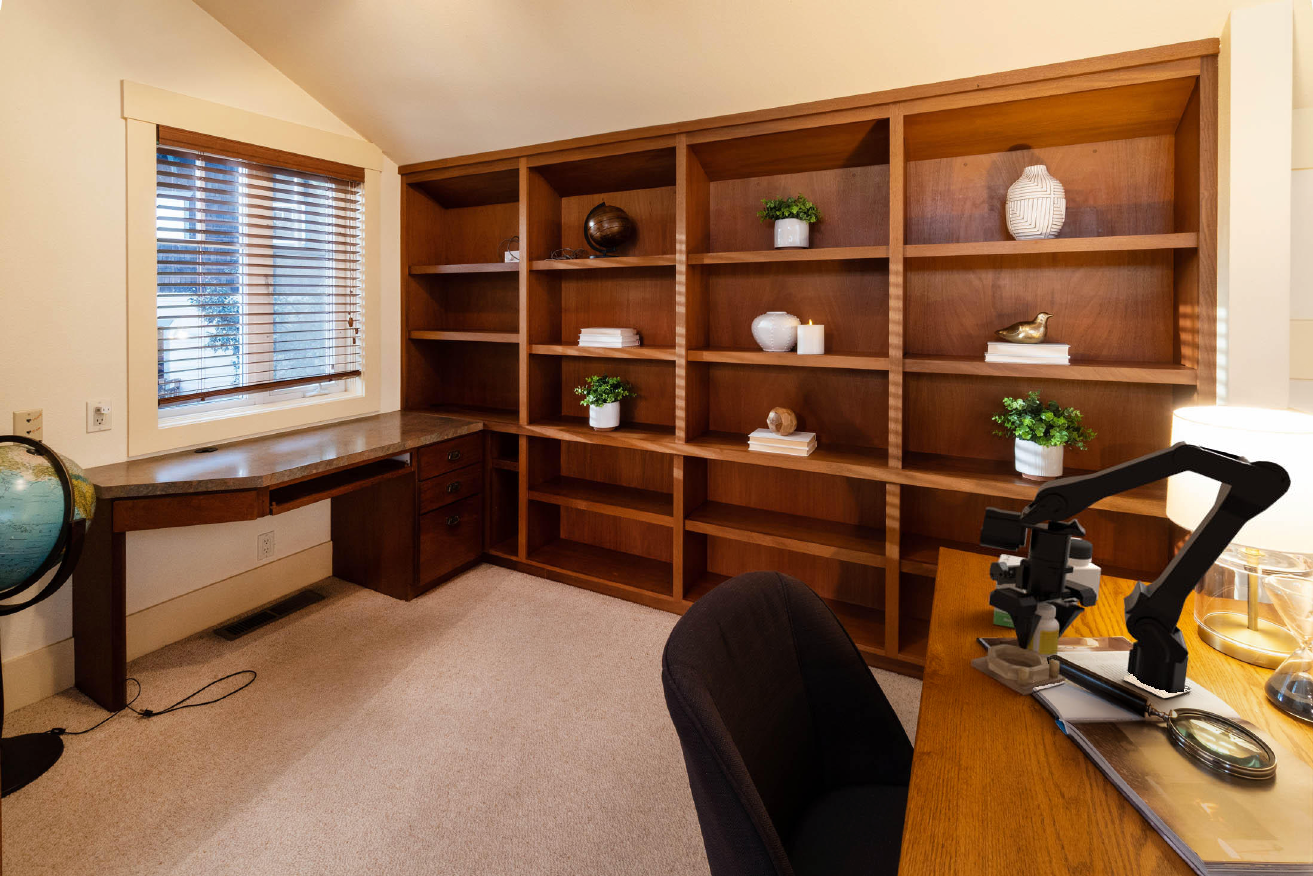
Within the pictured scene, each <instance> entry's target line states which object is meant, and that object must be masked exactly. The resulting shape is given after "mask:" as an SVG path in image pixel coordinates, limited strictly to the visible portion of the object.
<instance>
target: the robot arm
mask: <svg viewBox="0 0 1313 876" xmlns="http://www.w3.org/2000/svg"><path fill="white" fill-rule="evenodd" d="M1184 472H1185V473H1186V472H1191V473H1194V474H1198V475H1199V476H1203V477H1206V478H1208V479H1212V480H1214V481H1216V482H1219V483H1220V485H1219V486H1220V487H1219V489H1218V492H1217V495H1216V497H1215V498H1216V499H1215V501H1214V504H1213V506H1212V507H1211V509H1210V510H1209V511H1208V512H1207V514H1206V515H1205V516H1204V518H1203V519H1202V521H1200V523H1199V524H1198V526H1197V527H1196V528H1195V529H1194V531H1193V532H1192V534H1190V536H1189V537H1188V538H1187V540H1186V541H1185V542H1184V544H1183V546H1181V548H1180V549H1179V551H1178V552H1177V553H1176V555H1175V556H1174V557H1173V559H1172V560H1171V561H1170V563H1169V564H1168V565H1167V566H1166V568H1165V569H1164V570H1163V571H1162V573H1161V574H1160V575H1159V577H1158V578H1156V579H1155V580H1154V581H1152V582H1151V583H1149V584H1148V585H1146V584H1145V583H1143V582H1142V581H1140V580H1137V582H1136V583H1135V585H1134V587H1133V589H1132V591H1131V593H1129V595H1127V596H1125V597H1124V598H1123V602H1124V603H1123V605H1124V608H1123V609H1124V611H1123V612H1124V613H1123V614H1124V621H1125V628H1126V630H1127V633H1128V634H1129V635H1130V637H1132V638H1133V639H1134V640H1136V641H1134V642H1132V648H1131V649H1129V651H1128V652H1129V653H1128V660H1127V669H1126V670H1127V671H1128V672H1129V673H1130V674H1133V676H1135V677H1136V678H1137V680H1139V681H1140V682H1141V683H1143V684H1146V685H1148V686H1151V687H1154V688H1155V689H1159V690H1165V691H1166V692H1168V693H1177V692H1184V689H1187V690H1190V689H1192V688H1191V687H1190V686H1187V685H1186V678H1187V671H1188V663H1189V651H1188V647H1187V644H1186V641H1185V638H1184V633H1183V631H1182V630H1181V629H1180V628H1179V626H1178V624H1179V621H1180V618H1181V615H1182V612H1183V609H1184V605H1185V603H1186V601H1187V599H1188V596H1189V595H1190V594H1191V592H1192V591H1193V590H1194V589H1195V588H1196V587H1197V585H1198V584H1199V583H1200V582H1201V580H1202V579H1203V578H1204V576H1205V575H1206V574H1207V573H1208V571H1210V569H1211V568H1212V566H1213V565H1214V564H1215V563H1216V561H1217V560H1218V559H1219V557H1220V556H1221V555H1222V554H1223V553H1224V551H1225V550H1226V549H1227V548H1228V546H1229V544H1230V543H1231V542H1232V541H1233V540H1234V539H1235V537H1236V536H1237V535H1238V533H1239V532H1240V531H1241V530H1242V529H1243V527H1244V526H1245V525H1246V523H1249V522H1250V521H1251V520H1252V519H1254V518H1255V517H1258V515H1260V514H1262V513H1263V512H1265V511H1267V510H1268V509H1269V508H1271V507H1272V506H1273V505H1274V504H1275V503H1277V502H1278V500H1280V499H1281V498H1282V497H1283V496H1284V495H1285V494H1286V493H1288V491H1289V489H1290V487H1291V484H1292V480H1291V477H1290V474H1289V472H1288V471H1287V470H1286V469H1285V467H1284V466H1282V465H1280V464H1279V463H1278V462H1276V461H1275V460H1274V459H1271V458H1270V457H1268V456H1265V455H1262V454H1256V453H1255V454H1254V453H1250V454H1245V455H1238V454H1235V453H1231V452H1228V451H1224V450H1219V449H1216V448H1211V447H1207V446H1204V445H1200V444H1197V443H1195V442H1193V441H1190V440H1181V441H1178V442H1176V443H1174V444H1173V445H1171V446H1168V447H1166V448H1163V449H1160V450H1157V451H1154V452H1152V453H1148V454H1146V455H1145V454H1144V455H1143V456H1140V457H1138V458H1135V459H1131V460H1129V461H1126V462H1123V463H1119V464H1117V465H1114V466H1112V467H1109V468H1106V469H1103V470H1100V471H1098V472H1095V473H1091V474H1086V475H1085V474H1084V475H1078V476H1069V477H1062V478H1057V479H1052V480H1049V481H1046V482H1044V483H1042V484H1041V485H1040V486H1039V487H1038V489H1037V492H1036V493H1035V494H1036V495H1035V497H1034V499H1033V500H1032V501H1031V502H1030V503H1029V504H1028V505H1027V506H1024V508H1023V509H1022V512H1019V511H1011V510H1006V509H1000V508H997V507H992V506H987V507H986V509H985V511H984V512H985V513H984V517H983V522H982V523H983V524H982V527H981V529H980V537H979V538H980V539H979V545H980V546H982V547H988V548H994V549H1001V550H1006V551H1012V552H1018V550H1021V547H1023V548H1025V547H1026V541H1027V537H1028V529H1031V533H1030V539H1029V540H1030V541H1029V546H1028V547H1029V549H1028V557H1023V558H1024V559H1022V560H1021V561H1020V565H1009V566H1008V565H1007V564H1006V562H999V561H994V562H991V564H990V567H989V577H990V580H991V581H994V582H996V581H997V585H1003V584H1015V587H1016V588H1018V589H1024V590H1026V592H1025V593H1022V592H1020V591H1017V590H1015V589H1012V588H1010V587H1009V588H1001V589H996V588H995V589H994V590H992V591H990V592H989V598H988V599H989V600H988V605H989V606H991V607H995V608H998V609H1000V610H1002V611H1005V612H1007V613H1008V614H1009V615H1010V617H1011V619H1012V622H1013V625H1014V628H1013V629H1014V631H1015V636H1016V640H1017V643H1018V646H1019V647H1020V648H1022V649H1027V647H1028V646H1029V644H1030V642H1031V640H1032V637H1033V635H1034V633H1035V630H1036V628H1037V626H1038V624H1039V622H1040V619H1041V617H1042V616H1040V615H1038V614H1036V613H1035V612H1036V611H1037V604H1040V603H1048V604H1051V605H1053V606H1054V607H1055V608H1056V615H1055V617H1054V619H1056V620H1057V621H1058V623H1059V637H1058V640H1059V639H1060V638H1061V637H1062V636H1063V634H1064V633H1065V632H1066V630H1067V629H1068V628H1069V627H1070V626H1071V625H1072V623H1073V622H1074V621H1075V620H1076V619H1077V618H1078V617H1079V615H1080V614H1081V613H1084V612H1085V610H1086V608H1088V607H1094V606H1095V607H1096V605H1097V600H1096V598H1097V595H1096V593H1095V591H1094V590H1093V588H1091V587H1088V586H1085V585H1082V584H1079V583H1076V582H1073V581H1071V580H1066V574H1067V573H1073V569H1074V567H1072V566H1069V565H1068V559H1069V551H1070V543H1071V538H1072V536H1073V537H1078V538H1079V537H1080V538H1084V537H1086V529H1085V528H1084V527H1083V526H1081V524H1080V523H1079V522H1078V519H1077V518H1073V519H1072V520H1070V521H1069V522H1068V521H1066V522H1065V520H1067V519H1070V518H1072V517H1074V516H1076V515H1077V514H1079V513H1081V512H1083V511H1085V510H1086V509H1088V508H1089V507H1091V506H1093V505H1095V504H1096V503H1097V502H1099V501H1102V500H1104V499H1106V498H1109V497H1112V496H1114V495H1118V494H1122V493H1124V492H1127V491H1129V490H1133V489H1135V488H1139V487H1142V486H1145V485H1148V484H1151V483H1154V482H1157V481H1160V480H1163V479H1167V478H1169V477H1172V476H1175V475H1179V474H1182V473H1184ZM1047 521H1048V523H1045V522H1047ZM1076 599H1078V600H1076ZM1078 601H1079V604H1080V605H1081V606H1080V605H1078ZM1127 671H1126V672H1127ZM1128 672H1127V673H1128ZM1130 674H1129V675H1130ZM1185 687H1188V688H1185ZM1187 690H1185V691H1187Z"/></svg>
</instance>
